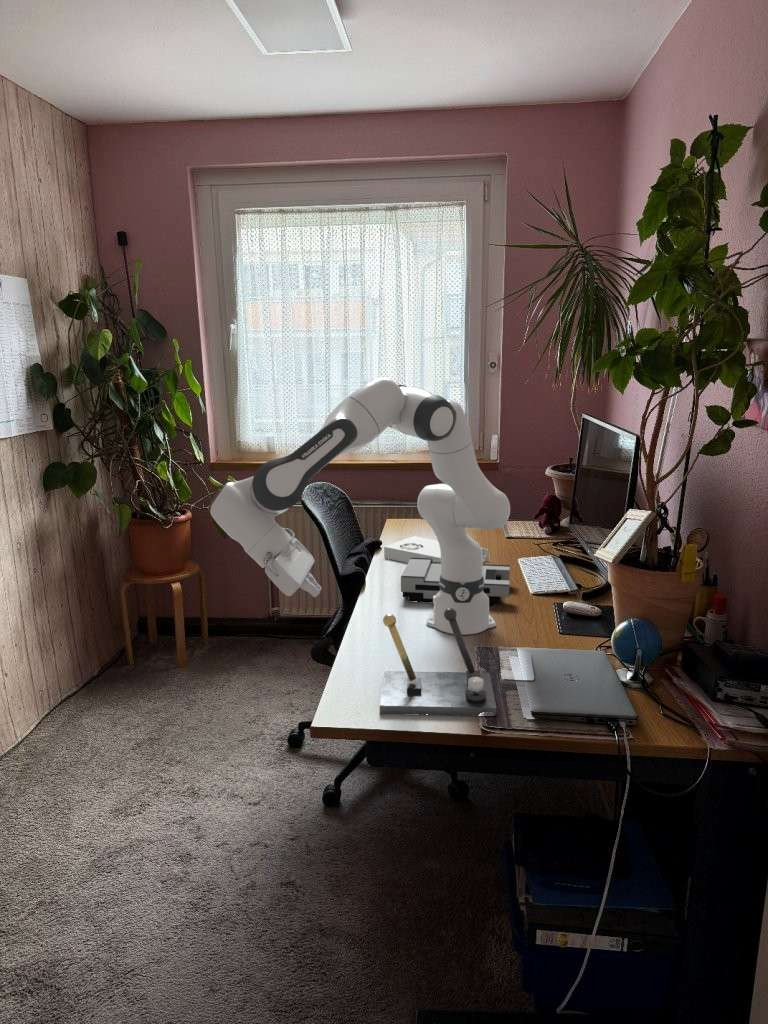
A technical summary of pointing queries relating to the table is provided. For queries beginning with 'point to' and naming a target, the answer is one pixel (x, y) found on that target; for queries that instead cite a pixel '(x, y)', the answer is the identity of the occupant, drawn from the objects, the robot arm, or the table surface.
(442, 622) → the robot arm
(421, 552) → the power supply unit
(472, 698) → the switch panel
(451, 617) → the black lever
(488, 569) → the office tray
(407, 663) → the brass lever
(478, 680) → the grey button
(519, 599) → the table surface
